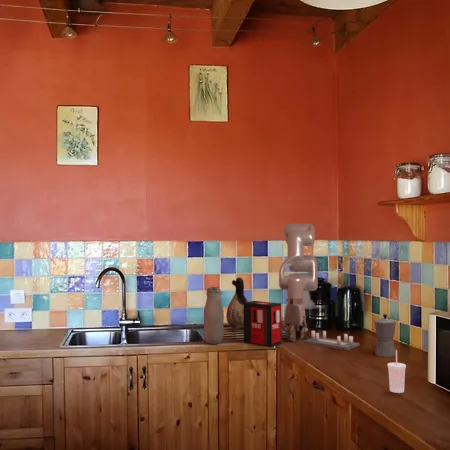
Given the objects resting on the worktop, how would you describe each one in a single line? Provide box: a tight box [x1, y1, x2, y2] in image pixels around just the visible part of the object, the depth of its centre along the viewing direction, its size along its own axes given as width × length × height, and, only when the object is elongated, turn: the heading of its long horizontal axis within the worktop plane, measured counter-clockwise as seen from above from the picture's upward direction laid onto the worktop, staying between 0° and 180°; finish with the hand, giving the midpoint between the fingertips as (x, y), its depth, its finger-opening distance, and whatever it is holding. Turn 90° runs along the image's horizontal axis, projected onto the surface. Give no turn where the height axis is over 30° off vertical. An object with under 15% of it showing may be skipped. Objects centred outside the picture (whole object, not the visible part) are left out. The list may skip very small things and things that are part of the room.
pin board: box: [304, 330, 360, 351], centre depth 250 cm, size 24×12×5 cm, turn 47°
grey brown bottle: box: [203, 286, 225, 345], centre depth 254 cm, size 10×10×28 cm
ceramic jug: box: [225, 277, 249, 333], centre depth 288 cm, size 17×15×30 cm
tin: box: [285, 324, 306, 343], centre depth 261 cm, size 15×3×8 cm, turn 142°
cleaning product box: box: [243, 300, 283, 348], centre depth 254 cm, size 16×9×20 cm, turn 51°
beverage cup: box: [387, 349, 407, 394], centre depth 177 cm, size 6×6×14 cm
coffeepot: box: [374, 314, 397, 358], centre depth 229 cm, size 15×9×18 cm, turn 150°
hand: (295, 337), depth 261 cm, fingers closed on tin, 2 cm apart
